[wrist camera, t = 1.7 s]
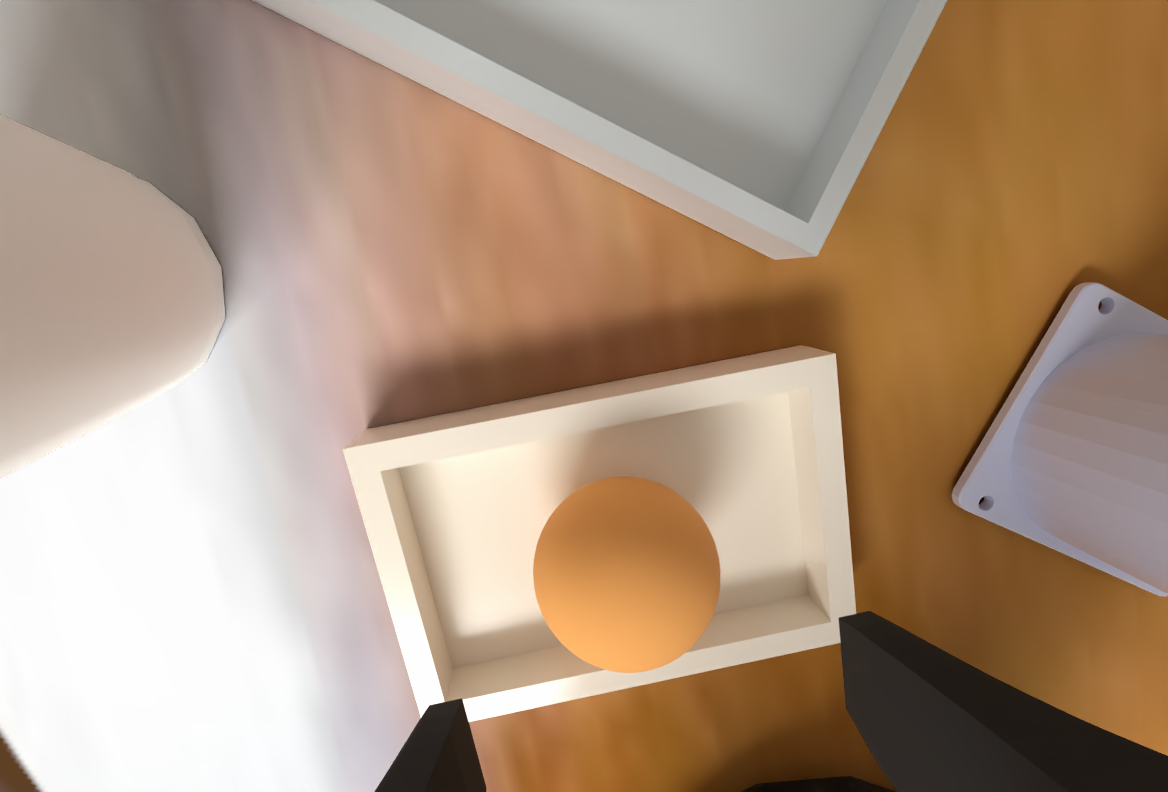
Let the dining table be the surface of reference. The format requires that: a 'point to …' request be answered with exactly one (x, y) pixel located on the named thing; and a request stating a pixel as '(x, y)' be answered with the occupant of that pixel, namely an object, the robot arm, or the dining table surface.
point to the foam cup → (91, 294)
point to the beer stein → (819, 786)
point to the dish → (584, 455)
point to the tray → (667, 91)
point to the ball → (626, 574)
